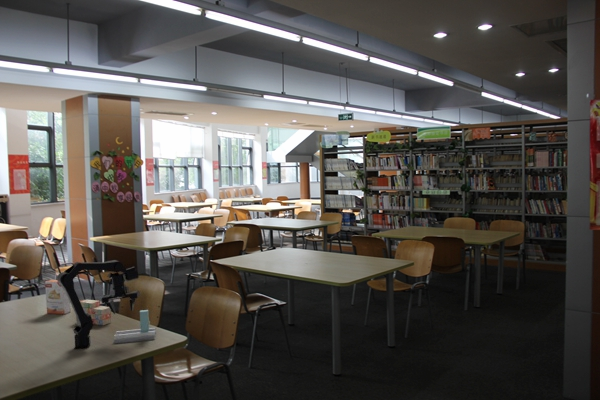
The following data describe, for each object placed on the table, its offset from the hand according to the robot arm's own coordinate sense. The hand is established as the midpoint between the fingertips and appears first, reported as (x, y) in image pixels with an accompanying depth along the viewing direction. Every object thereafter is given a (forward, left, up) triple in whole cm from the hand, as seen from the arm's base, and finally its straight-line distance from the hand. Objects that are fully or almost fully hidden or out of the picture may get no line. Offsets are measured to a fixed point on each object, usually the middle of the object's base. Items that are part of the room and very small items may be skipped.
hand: (123, 312), depth 261 cm
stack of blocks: (-22, +36, -13) cm, 44 cm away
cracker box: (-49, +66, -13) cm, 84 cm away
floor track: (+6, -5, -13) cm, 15 cm away
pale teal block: (+11, -5, -12) cm, 17 cm away
